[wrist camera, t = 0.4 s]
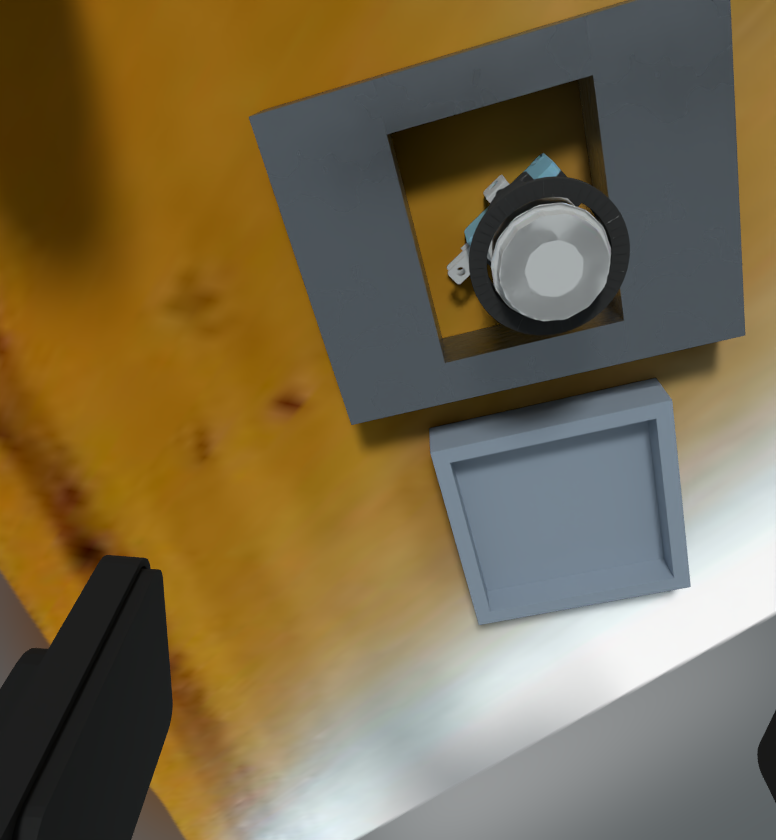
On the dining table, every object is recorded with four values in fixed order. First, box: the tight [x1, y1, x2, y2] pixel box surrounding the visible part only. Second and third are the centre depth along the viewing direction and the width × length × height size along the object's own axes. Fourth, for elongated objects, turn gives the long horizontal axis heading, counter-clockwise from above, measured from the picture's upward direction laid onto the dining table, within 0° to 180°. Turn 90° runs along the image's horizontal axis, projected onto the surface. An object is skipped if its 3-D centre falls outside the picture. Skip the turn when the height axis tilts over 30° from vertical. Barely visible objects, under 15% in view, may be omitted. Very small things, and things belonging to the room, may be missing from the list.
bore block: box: [249, 0, 745, 425], centre depth 31 cm, size 18×14×3 cm
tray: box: [429, 378, 691, 625], centre depth 38 cm, size 12×12×2 cm
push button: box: [447, 153, 630, 335], centre depth 28 cm, size 7×5×10 cm
